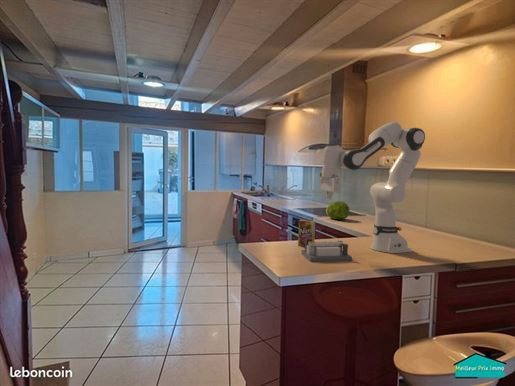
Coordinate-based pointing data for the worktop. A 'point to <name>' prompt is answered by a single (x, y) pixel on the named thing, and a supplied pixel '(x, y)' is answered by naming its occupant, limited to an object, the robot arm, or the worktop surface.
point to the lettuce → (338, 210)
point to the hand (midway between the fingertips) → (329, 199)
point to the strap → (325, 243)
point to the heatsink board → (327, 258)
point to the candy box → (306, 231)
